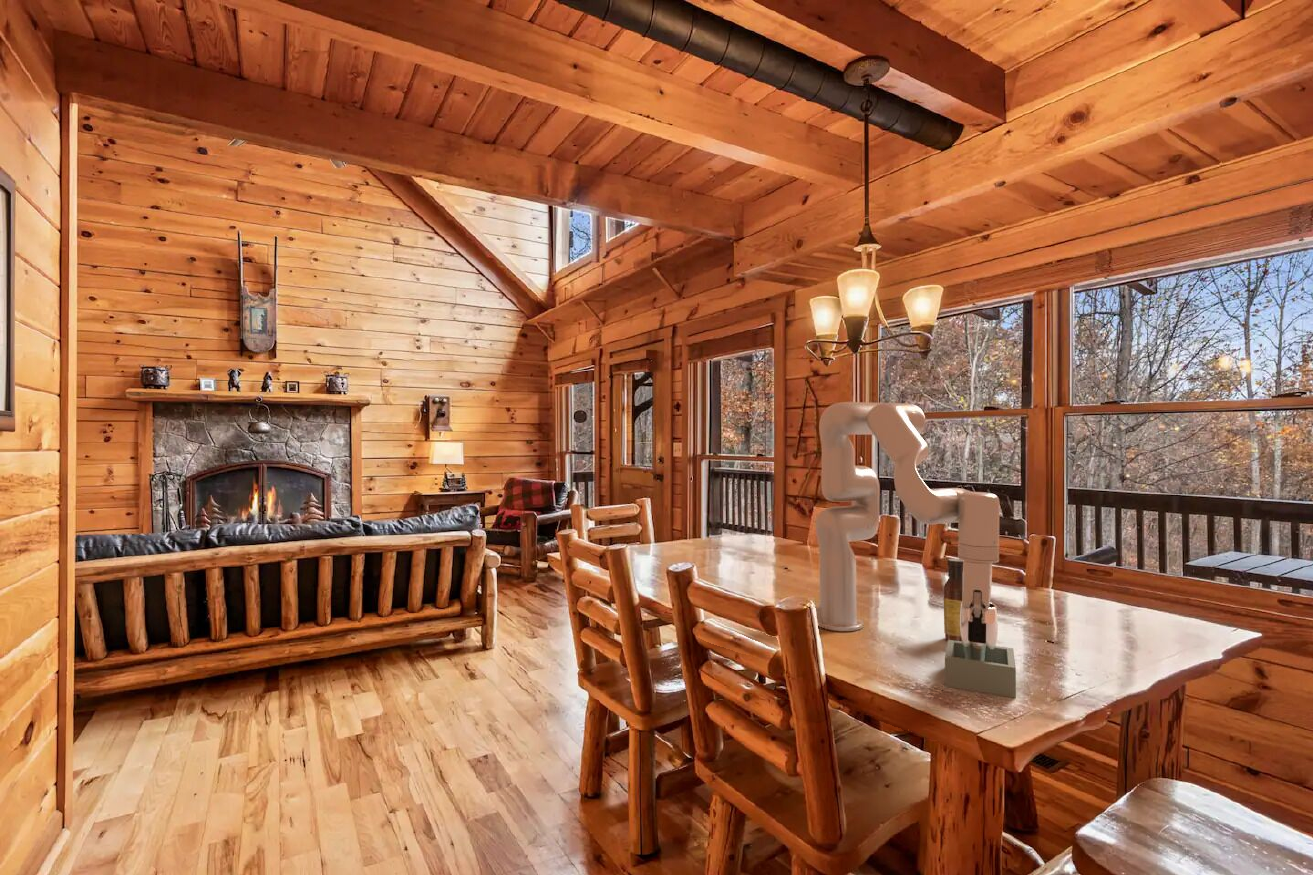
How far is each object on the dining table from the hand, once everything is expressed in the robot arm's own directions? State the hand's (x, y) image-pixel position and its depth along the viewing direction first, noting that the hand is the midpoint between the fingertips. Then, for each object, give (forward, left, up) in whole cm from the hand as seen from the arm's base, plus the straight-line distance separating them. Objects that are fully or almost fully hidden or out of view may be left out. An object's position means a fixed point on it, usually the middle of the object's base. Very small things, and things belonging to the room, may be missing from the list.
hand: (977, 634), depth 129 cm
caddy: (0, 0, -9) cm, 9 cm away
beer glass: (0, 0, -9) cm, 9 cm away
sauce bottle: (-5, +26, -10) cm, 28 cm away
